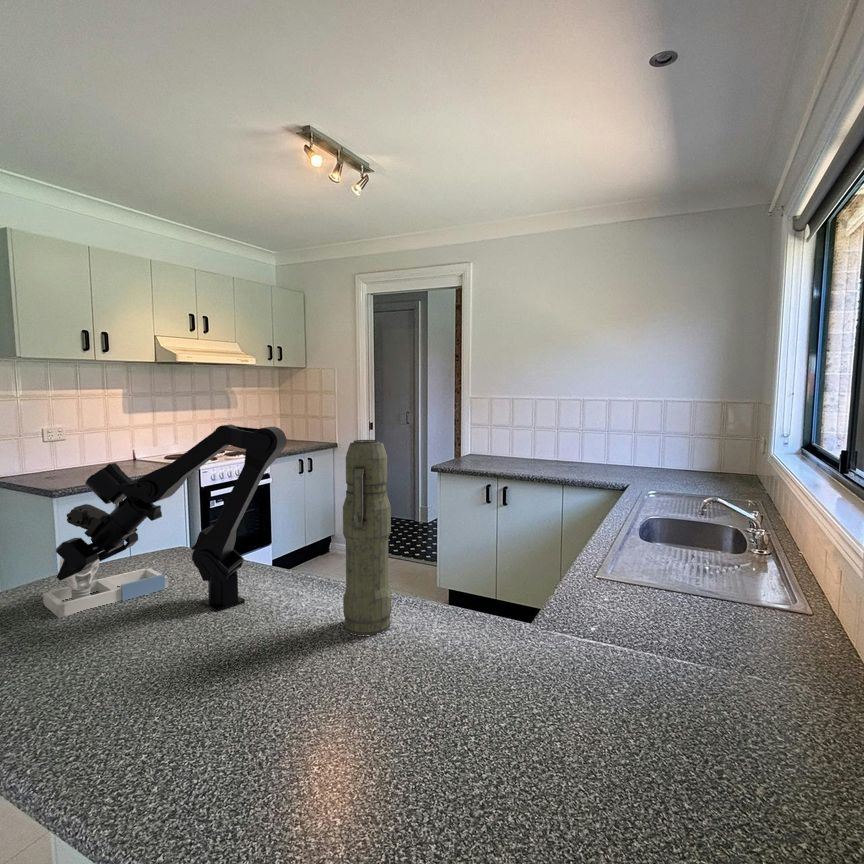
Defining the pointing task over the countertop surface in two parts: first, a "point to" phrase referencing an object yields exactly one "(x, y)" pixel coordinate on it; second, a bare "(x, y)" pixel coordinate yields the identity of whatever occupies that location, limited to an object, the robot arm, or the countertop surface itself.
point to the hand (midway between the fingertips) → (73, 571)
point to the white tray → (106, 591)
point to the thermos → (366, 539)
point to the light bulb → (82, 580)
